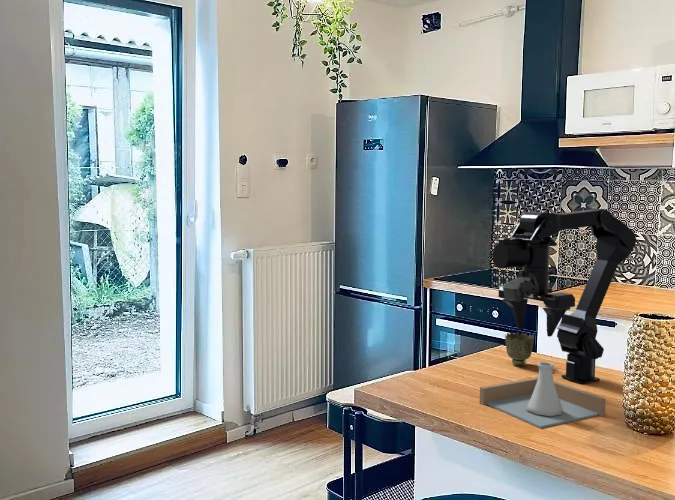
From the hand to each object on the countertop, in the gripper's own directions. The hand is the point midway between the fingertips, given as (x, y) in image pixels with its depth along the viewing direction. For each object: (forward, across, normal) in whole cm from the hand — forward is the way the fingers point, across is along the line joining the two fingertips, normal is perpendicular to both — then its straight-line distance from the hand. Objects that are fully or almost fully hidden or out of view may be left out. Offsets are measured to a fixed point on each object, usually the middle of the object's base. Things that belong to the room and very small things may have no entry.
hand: (534, 332), depth 150 cm
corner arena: (+13, +13, -11) cm, 21 cm away
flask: (+12, +15, -12) cm, 23 cm away
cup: (+13, -16, +11) cm, 23 cm away
